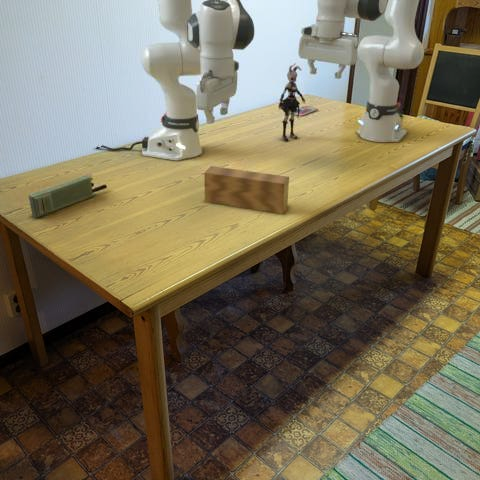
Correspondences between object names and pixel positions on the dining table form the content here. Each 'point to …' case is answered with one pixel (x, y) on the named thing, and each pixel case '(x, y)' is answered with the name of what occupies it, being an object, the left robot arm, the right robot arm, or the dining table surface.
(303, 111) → the smartphone
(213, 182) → the bar
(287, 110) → the figurine
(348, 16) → the right robot arm
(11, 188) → the dining table surface
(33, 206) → the handheld radio
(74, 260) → the dining table surface
